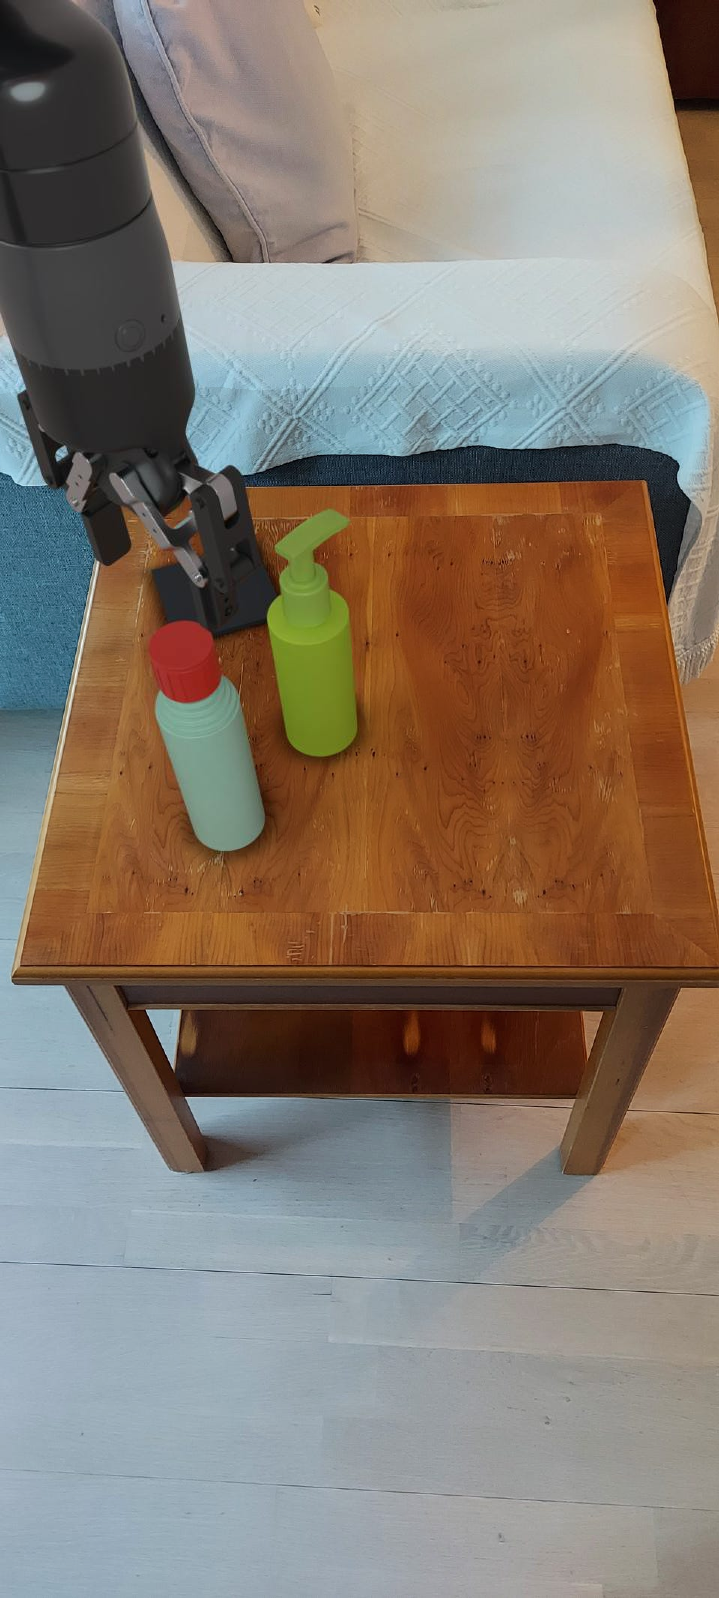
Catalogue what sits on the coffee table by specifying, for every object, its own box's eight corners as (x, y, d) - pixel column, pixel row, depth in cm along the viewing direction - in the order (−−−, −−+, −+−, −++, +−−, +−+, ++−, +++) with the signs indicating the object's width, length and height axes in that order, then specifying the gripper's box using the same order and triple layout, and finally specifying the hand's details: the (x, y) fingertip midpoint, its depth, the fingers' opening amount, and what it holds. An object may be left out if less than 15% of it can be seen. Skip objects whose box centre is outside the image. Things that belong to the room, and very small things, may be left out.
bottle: (207, 862, 75) (154, 699, 60) (183, 807, 78) (126, 638, 63) (276, 834, 76) (241, 666, 61) (249, 781, 79) (209, 608, 64)
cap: (169, 652, 65) (159, 616, 63) (229, 659, 65) (221, 624, 62) (150, 699, 63) (138, 664, 60) (211, 707, 62) (202, 672, 60)
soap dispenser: (380, 717, 82) (372, 526, 66) (322, 768, 80) (298, 582, 63) (329, 682, 85) (309, 489, 68) (271, 730, 82) (235, 542, 66)
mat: (177, 647, 88) (176, 643, 87) (152, 574, 93) (150, 569, 93) (285, 617, 90) (284, 612, 89) (254, 546, 95) (253, 541, 94)
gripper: (271, 328, 42) (302, 606, 56) (52, 228, 48) (129, 503, 61) (141, 414, 39) (207, 687, 52) (-77, 297, 45) (33, 570, 58)
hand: (165, 587), depth 57 cm, fingers open, 8 cm apart
